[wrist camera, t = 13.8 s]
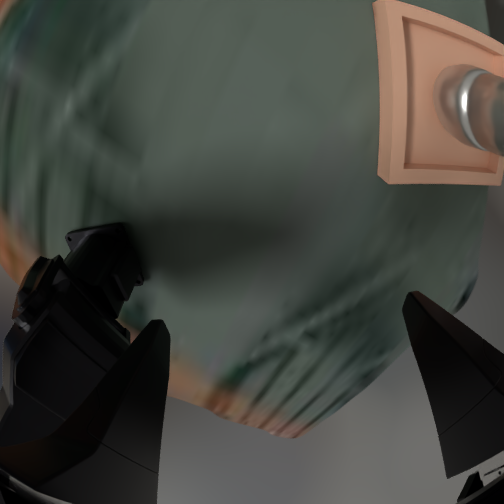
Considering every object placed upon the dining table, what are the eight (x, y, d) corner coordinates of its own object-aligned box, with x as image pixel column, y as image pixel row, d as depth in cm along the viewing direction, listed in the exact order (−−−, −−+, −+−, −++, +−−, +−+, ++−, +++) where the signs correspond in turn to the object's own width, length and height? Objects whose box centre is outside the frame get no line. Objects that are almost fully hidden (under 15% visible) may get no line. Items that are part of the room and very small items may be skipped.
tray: (377, 174, 20) (388, 184, 18) (372, 3, 12) (384, -3, 10) (488, 177, 19) (500, 186, 18) (495, 46, 11) (509, 48, 10)
